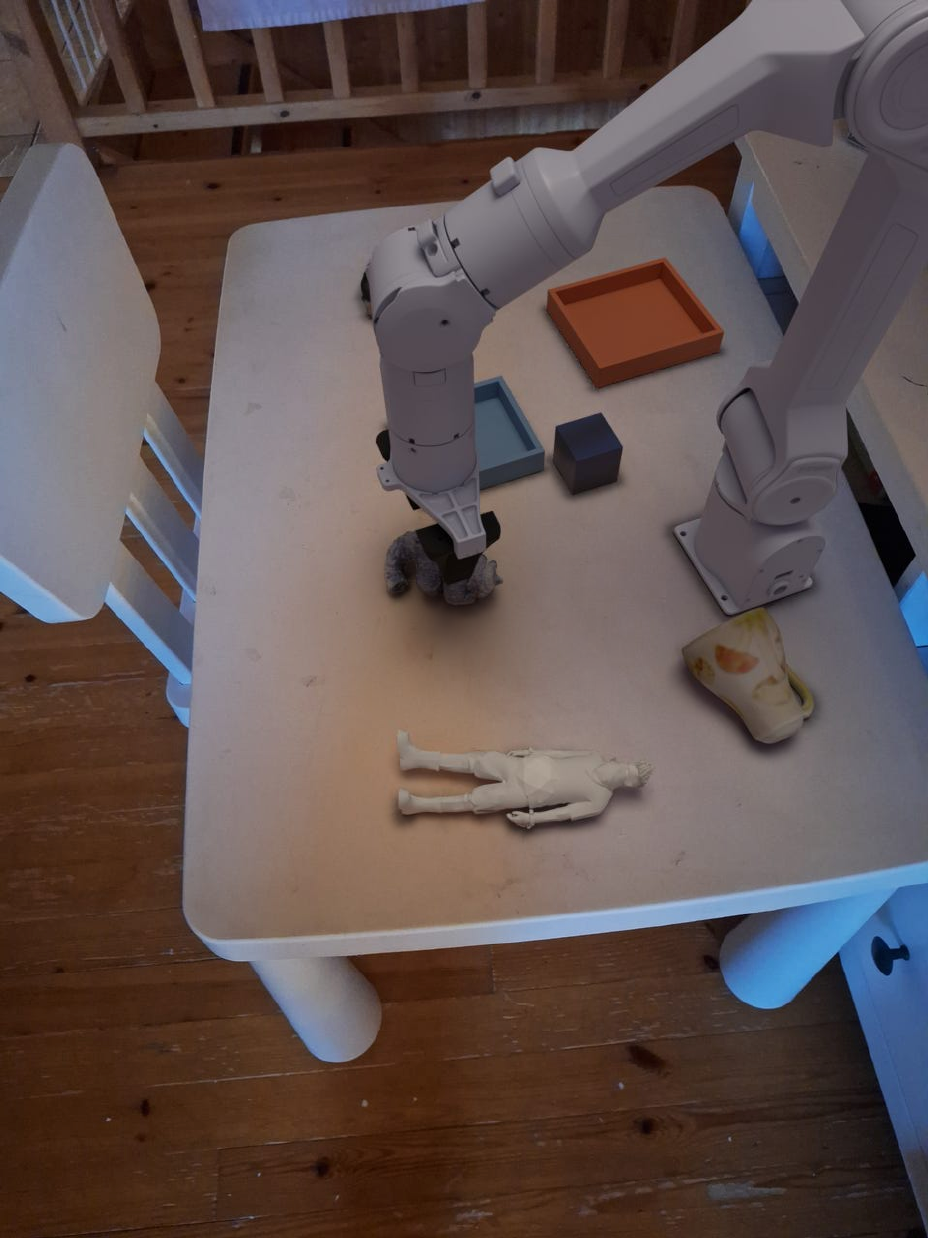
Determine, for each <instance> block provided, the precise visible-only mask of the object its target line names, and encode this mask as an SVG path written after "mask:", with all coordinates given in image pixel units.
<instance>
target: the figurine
mask: <svg viewBox="0 0 928 1238" xmlns="http://www.w3.org/2000/svg"><path fill="white" fill-rule="evenodd" d="M396 746H397V753H398V755H399V756H400V759H399V765H400V771H409V770H412V769H413V770H414V769H418V768H421V769H427V770H433V771H436V772H440V769H441V770H444V771H449V772H454V773H463V774H470V775H471V774H474V776H475V777H476V778H478V779H482V780H483V779H484V780H491V781H498V782H495V783H490V784H483V785H480V786H477V787H475V788H474V789H473V790H472V791H471V792H468V791H467V792H466V793H464V794H457V795H449V796H448V795H447V796H443V795H439V796H434V797H427V796H425V797H424V796H416V795H413V794H411V792H410V791H409V790H407V789H404V788H398V799H397V800H398V801H397V805H398V810H400V811H401V813H402V815H407V816H408V815H413V814H419V813H427V812H429V813H439V814H443V813H461V812H469V811H470V812H471V811H473V814H475V815H480V814H481V815H482V814H488V813H490V814H491V813H496V812H499V811H500V812H501V811H502V810H505V809H521V808H526V807H528V808H529V811H528V812H523V811H517V810H515V811H512V812H511V813H510V812H509V813H507V814H505V815H506V817H507V818H508V820H510V821H511V822H513V823H515V825H516V826H520V827H522V828H524V827H525V828H526V829H528V830H530V829H531V828H532V827H534V826H535V824H541V823H549V822H562V821H566V820H571V822H573V821H577V820H581V819H586V818H591V817H594V816H599V815H600V814H601V813H602V812H603V811H605V808H606V807H607V806H608V804H609V801H610V798H612V796H613V794H614V790H615V789H617V788H620V787H637V788H638V789H639V788H643V787H645V786H646V785H647V783H648V781H649V780H650V778H651V776H652V774H653V773H654V771H655V769H656V767H655V766H653V764H651V763H648V760H646V759H644V758H640V759H638V760H637V761H636V762H627V763H626V762H624V761H621V762H620V761H614V760H606V759H605V757H604V756H603V755H602V754H601V752H599V751H598V750H594V749H566V750H562V749H554V748H551V749H550V748H547V749H546V748H544V749H542V748H541V749H534V748H533V747H532V746H528V748H527V749H516V750H510V751H509V752H508V753H507V754H506V753H504V752H502V751H499V750H491V749H490V750H489V749H487V750H485V749H479V750H473V751H471V752H466V753H442V750H433V751H432V750H423V749H420V748H419V747H418V746H416V745H414V744H413V742H412V741H411V737H410V733H409V732H408V731H407V730H403V729H398V730H397V737H396ZM566 803H567V805H564V806H561V807H555V808H553V809H549V810H546V811H539V812H537V811H536V812H534V809H536V808H542V807H546V806H550V807H551V806H556V805H558V804H566Z"/></svg>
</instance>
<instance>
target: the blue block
mask: <svg viewBox="0 0 928 1238" xmlns="http://www.w3.org/2000/svg"><path fill="white" fill-rule="evenodd" d="M554 428H555V429H554V441H553V454H552V461H553V463H554V465H555V467H556V468H557V470H558V472H559V473H560V475H561V477H562V478H563V481H564V482H565V484H566V486H567V487H568V489H569V491H570V493H571V494H572V495H575V494H578V493H582V492H585V491H588V490H591V489H594V488H598V487H600V486H604V485H606V484H610V483H614V482H615V481H618V478H619V472H620V467H621V461H622V457H623V450H624V445H623V444H622V443H621V441H620V439H619V437H618V436H617V435H616V433H615V431H614V429H612V426H611V425H610V424H609V422H608V421H607V419H606V417H605V416H604V414H603V412H601V411H599V412H597V413H594V414H590V415H587V416H585V417H581V418H578V419H575V420H571V421H568V422H564V423H561V424H558V425H555V427H554Z"/></svg>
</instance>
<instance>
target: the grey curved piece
mask: <svg viewBox="0 0 928 1238" xmlns="http://www.w3.org/2000/svg"><path fill="white" fill-rule="evenodd" d="M416 530H417V529H414V530H413V531H410V530H407V531H406V532H405V533H403V534H402V535H400V536H398V537H397V538H396V539H394V540H393V542H392V543H391V544H390V545H389V546H388V548H387V550H386V553H385V563H384V567H383V571H384V573H383V576H384V582H385V583H386V591H387V592H390V593H392V594H396V593H401V592H404V591H405V588H406V587H407V586H408V585H410V583H411V581H410V580H409V579H408V578H407V577H406V576H407V575H406V566H407V565H408V563H410V562H411V561H413V562H414V564H415V572H414V574H415V584H416V586H417V588H418V589H419V591H421V592H422V593H424V594H426V595H428V596H431V597H437V596H438V597H439V596H442V595H443V598H444V600H445V601H446V602H447V603H448V604H451V605H453V606H457V605H458V606H459V605H470V604H473V603H475V601H476V599H482V598H485V597H487V596H488V595H489V594H491V593H492V592H493V591H494V589H495V588H496V587H497V586H499V585H503V584H504V581H505V580H503V578H501V577H500V575H498V574H497V573H498V572H497V569H498V562H497V561H496V560H495V559H491V560H490V561H489V560H488V557H487V556H486V554H484V553H483V554H482V555H481V557H480V558H479V560H478V563H477V565H476V567H475V570H474V572H473V574H472V576H471V578H469V579H466V580H463V581H460V582H457V583H454V584H451V585H446V583H445V582H444V580H443V578H442V576H441V574H440V571H439V569H438V566H437V563H436V562H434V561H431V560H430V559H429V558H428V557H427V555H426V554H425V552H424V551H423V548H422V546H421V544H420V542H419V539H418V537H417V535H416Z"/></svg>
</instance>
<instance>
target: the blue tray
mask: <svg viewBox="0 0 928 1238" xmlns="http://www.w3.org/2000/svg"><path fill="white" fill-rule="evenodd" d="M474 401H475V447H476V450H477V452H478V458H479V490H483V489H486V488H490V487H493V486H497V485H499V484H503V483H506V482H510V481H512V480H516V479H519V478H522V477H524V476H528V475H531V474H535V473H538V472H542V471H544V469H545V457H546V456H545V454H546V450H545V448H544V447H543V445H542V444H541V442H540V440H539V437H538V436H537V435H536V433H535V431H534V429H533V428H532V426H531V425H530V422H529V420H528V419H527V417H526V416H525V413H524V412H523V411H522V408H521V406H520V405H519V403H518V402H517V400H516V398H515V397H514V394H513V393H512V391H511V389H510V387H509V386H508V384H507V382H506V380H505V378H504V376H502V375H498V376H495V377H492V378H489V379H485V380H481V381H478V382H474Z"/></svg>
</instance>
